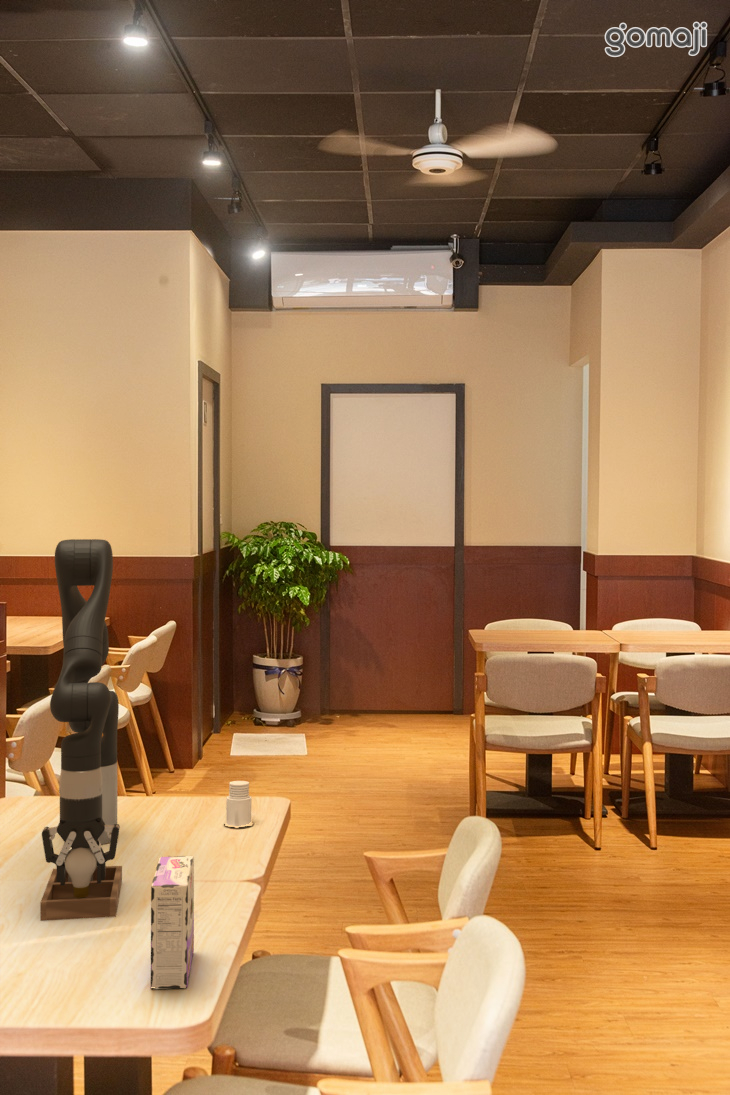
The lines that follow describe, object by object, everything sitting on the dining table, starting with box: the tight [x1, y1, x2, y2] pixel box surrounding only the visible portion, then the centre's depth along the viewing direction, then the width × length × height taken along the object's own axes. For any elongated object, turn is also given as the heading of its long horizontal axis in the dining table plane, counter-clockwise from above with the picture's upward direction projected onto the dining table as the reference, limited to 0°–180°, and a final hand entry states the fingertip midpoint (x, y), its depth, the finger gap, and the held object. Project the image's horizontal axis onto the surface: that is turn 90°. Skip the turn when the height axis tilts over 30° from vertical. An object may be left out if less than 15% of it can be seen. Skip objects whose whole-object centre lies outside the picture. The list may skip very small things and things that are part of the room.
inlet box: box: [39, 865, 123, 921], centre depth 198 cm, size 18×13×4 cm
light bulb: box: [64, 847, 98, 899], centre depth 194 cm, size 6×6×10 cm
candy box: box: [150, 855, 195, 989], centre depth 170 cm, size 14×6×16 cm, turn 5°
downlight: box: [225, 780, 252, 826], centre depth 250 cm, size 8×7×10 cm
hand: (81, 882), depth 194 cm, fingers closed on light bulb, 6 cm apart
